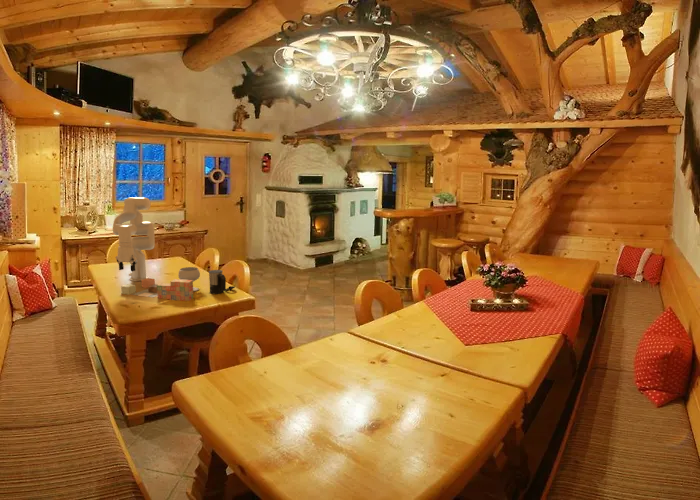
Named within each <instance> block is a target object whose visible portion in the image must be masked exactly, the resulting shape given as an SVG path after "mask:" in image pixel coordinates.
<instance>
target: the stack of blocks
mask: <svg viewBox="0 0 700 500" xmlns="http://www.w3.org/2000/svg"><path fill="white" fill-rule="evenodd" d="M193 287H194V282H193V280H180V279H179V278H178V279H176V278H174V279H172V280H171V281H170V282H168V283H163V282H161V283H158V284H157V295H158V296H157V299H167V301H186V302H187V301H188V302H190V301H192V299H194V292H193Z"/></svg>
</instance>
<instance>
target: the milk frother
mask: <svg viewBox="0 0 700 500" xmlns="http://www.w3.org/2000/svg"><path fill="white" fill-rule="evenodd" d="M223 272H224V271H223V270H222V269H212V270H209V271H208V275H209V278H208V279H209V294H211V295H218V294H223V293H224V292H226V291H229V290H230V291H232V290H233V289H235V288H236V286H235V285H234V286H233V285H231V286H229V287H227V288H226V286H227V283H226V281H227V279H226V276H225V275H224V273H223Z"/></svg>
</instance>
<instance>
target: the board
mask: <svg viewBox="0 0 700 500" xmlns="http://www.w3.org/2000/svg"><path fill="white" fill-rule="evenodd" d="M130 295H131V296H132V295H133V296H139V297H145V298H147V297H148V298H155V297H158V295H157V293H152V292H149V291H148V288H145V289H143V290H141V291H138V292H136V293H133V294H130Z"/></svg>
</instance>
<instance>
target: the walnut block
mask: <svg viewBox="0 0 700 500" xmlns="http://www.w3.org/2000/svg"><path fill="white" fill-rule="evenodd" d="M157 285H158V284H157V283H155V284H154V285H150V286H148V288H147V289H148V291H149V292H152V293H157Z"/></svg>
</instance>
